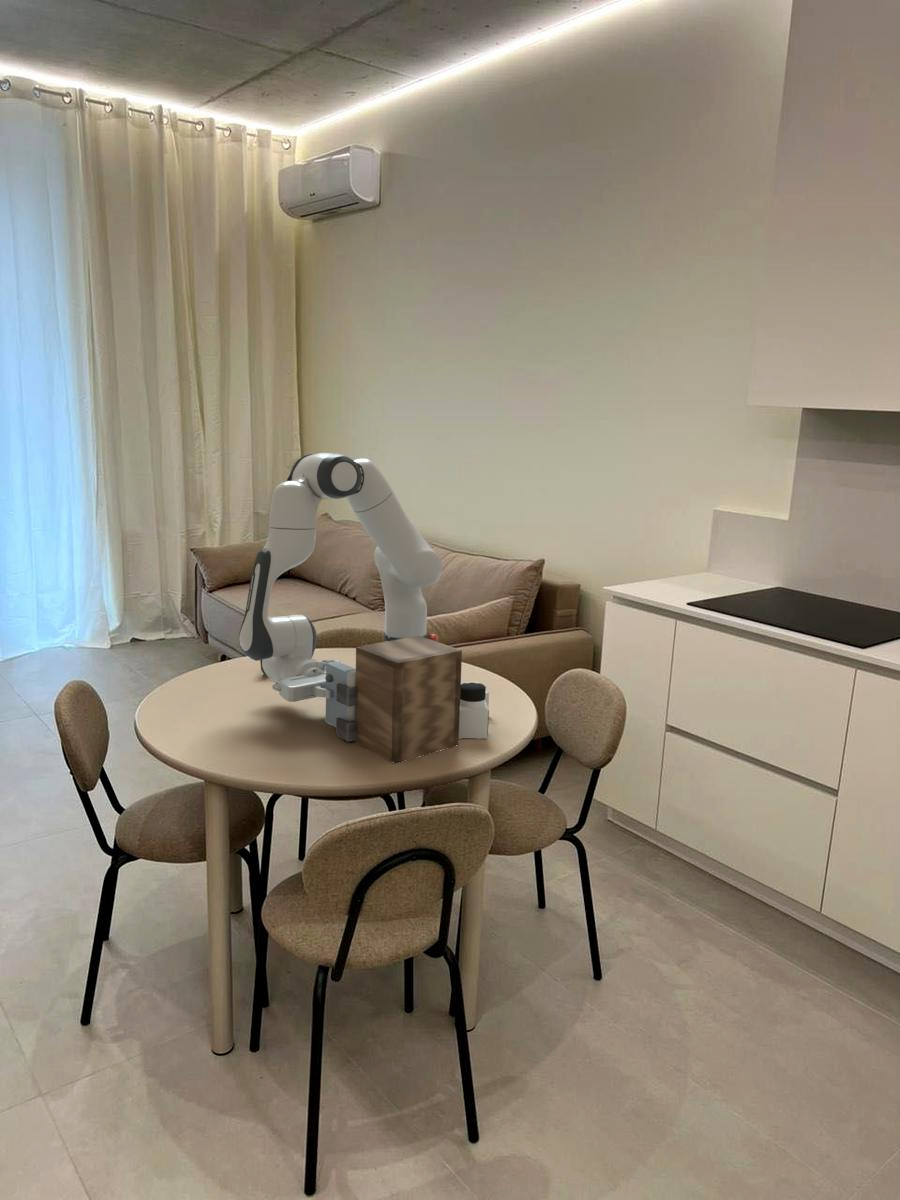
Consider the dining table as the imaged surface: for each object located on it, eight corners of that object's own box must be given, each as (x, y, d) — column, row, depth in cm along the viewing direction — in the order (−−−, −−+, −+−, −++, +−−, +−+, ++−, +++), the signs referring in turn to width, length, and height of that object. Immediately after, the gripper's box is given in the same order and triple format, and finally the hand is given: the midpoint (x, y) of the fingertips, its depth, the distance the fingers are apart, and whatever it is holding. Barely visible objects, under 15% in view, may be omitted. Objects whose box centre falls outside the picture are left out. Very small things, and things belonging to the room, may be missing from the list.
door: (320, 722, 205) (321, 664, 202) (336, 719, 208) (337, 661, 205) (345, 735, 197) (346, 674, 194) (361, 731, 200) (362, 671, 197)
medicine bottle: (487, 739, 203) (490, 689, 201) (456, 739, 203) (458, 688, 200) (484, 728, 210) (486, 679, 208) (454, 728, 210) (455, 679, 207)
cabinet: (406, 721, 213) (408, 632, 208) (458, 745, 199) (462, 650, 194) (336, 739, 200) (336, 644, 196) (386, 766, 186) (388, 664, 182)
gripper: (268, 672, 205) (299, 687, 195) (342, 658, 218) (376, 672, 208) (268, 698, 207) (299, 715, 197) (342, 683, 220) (375, 698, 210)
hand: (339, 693), depth 202 cm, fingers closed on door, 3 cm apart
